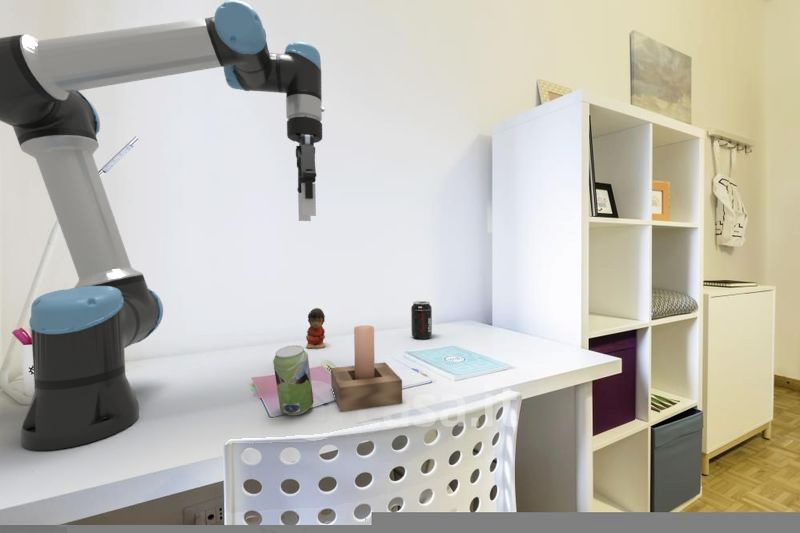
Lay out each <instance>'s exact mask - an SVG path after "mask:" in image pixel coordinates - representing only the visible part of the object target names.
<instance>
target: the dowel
mask: <svg viewBox="0 0 800 533" xmlns="http://www.w3.org/2000/svg"><path fill="white" fill-rule="evenodd" d="M353 333H354V334H353V337H354V338H353V339H354V340H353V344H354V366H355V380H360V379H369V378H375V365H374V364H375V326H373V325H356V326H354V327H353Z"/></svg>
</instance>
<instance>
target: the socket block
mask: <svg viewBox="0 0 800 533" xmlns="http://www.w3.org/2000/svg"><path fill="white" fill-rule="evenodd" d="M374 365H375V378H369V379H360V380H355V365H348V366H341V367H338V366H337V367H331V368H330V381H331V382H330V383H331V387H332V389H333V392H334V394H333V396H334V395H335V397H334V399H335V398H336V400H335V403H336V405H337V407H338V409H339V412H347V411H356V410H362V409H368V408H375V407H383V406H391V405H397V404H403V379H402V378H401V377H400V376H399V375H398V374H397V373H396V372H395V371H394V370H393V369H392V368H391V367H390V366H389V365H388V364H387V363H386V362H377V363H375V362H374ZM332 389H331V390H332ZM333 392H332V393H333Z"/></svg>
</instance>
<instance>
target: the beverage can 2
mask: <svg viewBox="0 0 800 533" xmlns="http://www.w3.org/2000/svg"><path fill="white" fill-rule="evenodd" d="M412 303H413V304H412V305H411V308H410V311H411V313H410V314H411V318H410V319H411V320H410V321H411V322H410V324H411V328H410V330H411V337H413V338H414V339H416V340H428V339H429V338H431V337H432V335H433V333H432V332H433V324H432V322H433V319H432V318H433V317H432V315H433V314H432V313H433V310H432V305H431V301H427V300H424V301H423V300H416V301H413V302H412Z"/></svg>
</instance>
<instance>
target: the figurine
mask: <svg viewBox="0 0 800 533" xmlns="http://www.w3.org/2000/svg"><path fill="white" fill-rule="evenodd" d="M325 318H326V317H325V314H324V311H323V310H322V309H321V308H318V307H316V308H313V309H311V310H310V311H309V313H308V314H307V321H308V323H309V325H310V326H309V327H308V329H307V331H306V333H307V335H306V336H305V339H306V341H307V344H306V345H305V348H307V349H324V348H326V345H325V343H324V340H325V339H326V335H325V332H326V331H325V328H324V326H323V325H324V323H325V321H326V319H325Z"/></svg>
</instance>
